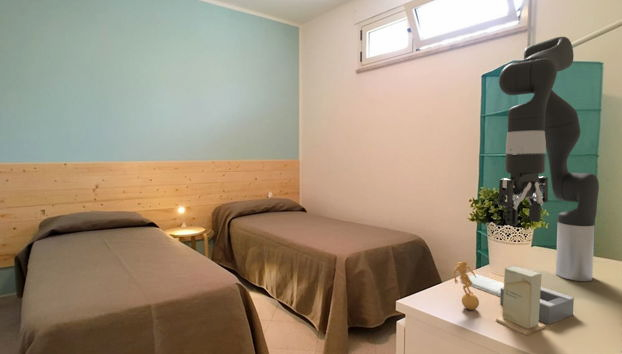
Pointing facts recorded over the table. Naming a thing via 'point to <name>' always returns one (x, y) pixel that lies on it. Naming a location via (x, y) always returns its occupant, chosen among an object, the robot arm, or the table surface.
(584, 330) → the table surface
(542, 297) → the socket block
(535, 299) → the skincare box
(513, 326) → the cork coaster
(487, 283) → the hard drive
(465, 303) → the figurine
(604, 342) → the table surface
